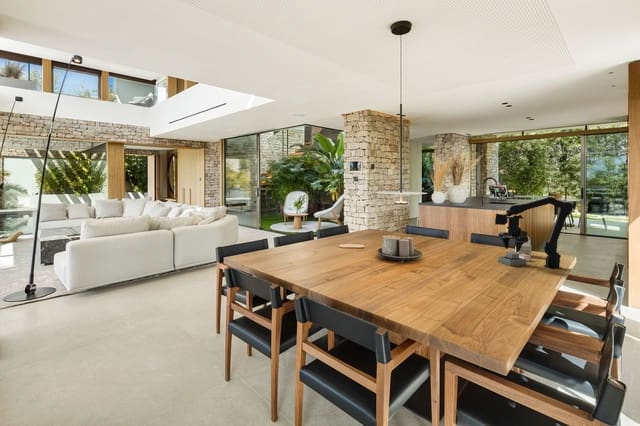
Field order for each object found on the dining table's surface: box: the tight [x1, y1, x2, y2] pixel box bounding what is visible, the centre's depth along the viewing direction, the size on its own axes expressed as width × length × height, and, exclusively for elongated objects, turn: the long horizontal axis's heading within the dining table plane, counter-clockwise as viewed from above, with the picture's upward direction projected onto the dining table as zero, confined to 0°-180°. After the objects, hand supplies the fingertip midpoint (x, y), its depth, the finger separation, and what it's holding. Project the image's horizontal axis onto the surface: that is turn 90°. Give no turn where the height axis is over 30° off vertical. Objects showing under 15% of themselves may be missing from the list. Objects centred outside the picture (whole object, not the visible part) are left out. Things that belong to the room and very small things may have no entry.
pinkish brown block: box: [519, 254, 531, 262], centre depth 211 cm, size 6×4×4 cm
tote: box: [498, 255, 527, 267], centre depth 202 cm, size 11×11×4 cm
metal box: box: [505, 251, 519, 260], centre depth 202 cm, size 5×5×6 cm
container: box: [514, 236, 532, 258], centre depth 223 cm, size 8×8×13 cm
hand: (512, 250), depth 202 cm, fingers open, 9 cm apart
